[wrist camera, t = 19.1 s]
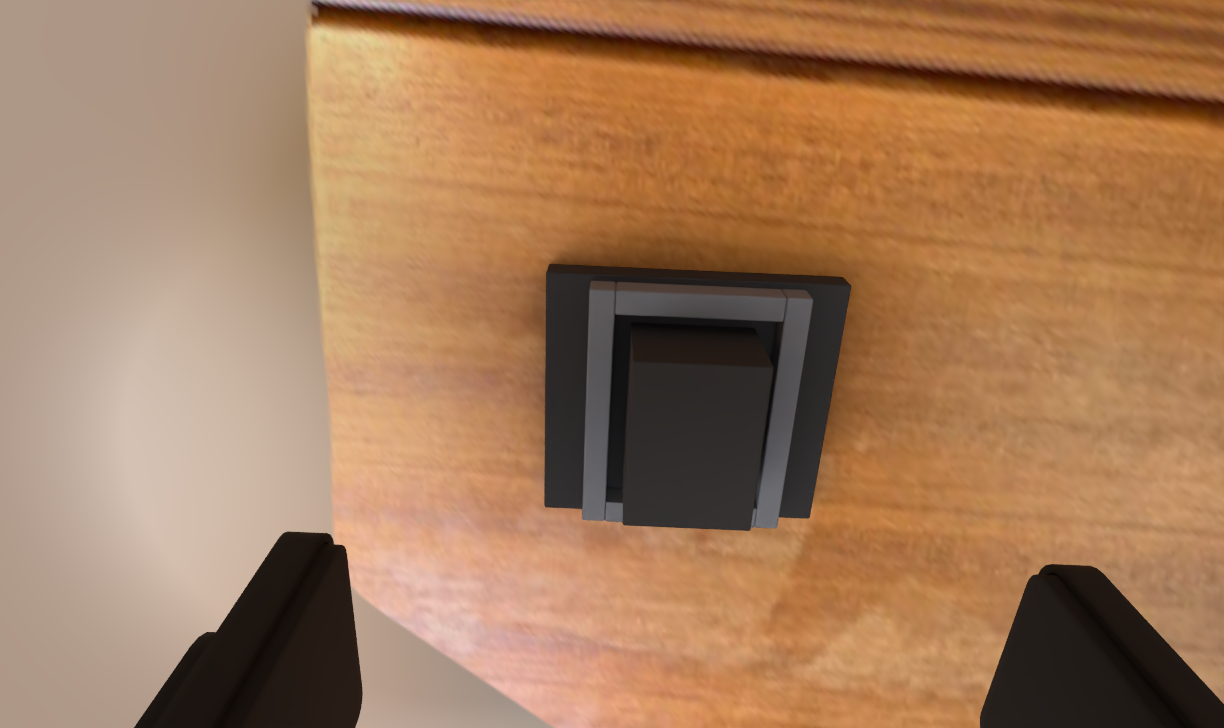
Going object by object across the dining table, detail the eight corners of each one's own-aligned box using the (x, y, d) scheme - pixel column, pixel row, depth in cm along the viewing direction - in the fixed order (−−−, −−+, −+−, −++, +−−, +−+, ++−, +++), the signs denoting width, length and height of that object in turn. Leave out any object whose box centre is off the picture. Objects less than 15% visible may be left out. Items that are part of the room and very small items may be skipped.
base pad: (546, 493, 34) (541, 523, 32) (548, 263, 30) (543, 280, 27) (804, 504, 34) (816, 535, 32) (843, 276, 30) (861, 295, 28)
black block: (622, 471, 32) (622, 526, 28) (630, 321, 29) (632, 360, 26) (736, 476, 32) (750, 531, 28) (755, 327, 29) (774, 367, 26)
